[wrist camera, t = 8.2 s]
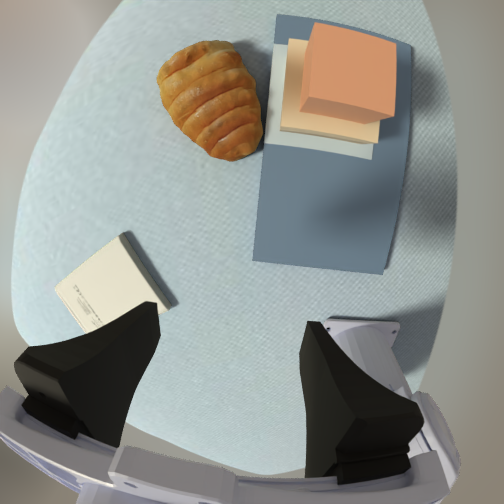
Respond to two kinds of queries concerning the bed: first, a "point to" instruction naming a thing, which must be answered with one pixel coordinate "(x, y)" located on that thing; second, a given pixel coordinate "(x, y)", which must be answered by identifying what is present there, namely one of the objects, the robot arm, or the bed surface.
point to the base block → (312, 122)
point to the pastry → (212, 99)
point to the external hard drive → (109, 286)
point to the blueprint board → (330, 177)
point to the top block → (348, 75)
